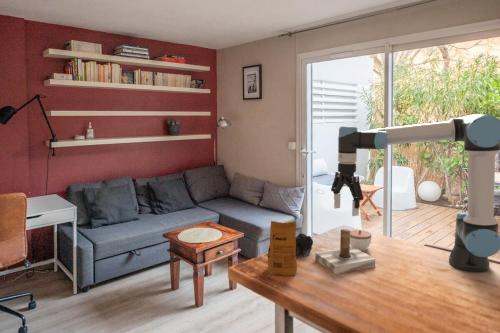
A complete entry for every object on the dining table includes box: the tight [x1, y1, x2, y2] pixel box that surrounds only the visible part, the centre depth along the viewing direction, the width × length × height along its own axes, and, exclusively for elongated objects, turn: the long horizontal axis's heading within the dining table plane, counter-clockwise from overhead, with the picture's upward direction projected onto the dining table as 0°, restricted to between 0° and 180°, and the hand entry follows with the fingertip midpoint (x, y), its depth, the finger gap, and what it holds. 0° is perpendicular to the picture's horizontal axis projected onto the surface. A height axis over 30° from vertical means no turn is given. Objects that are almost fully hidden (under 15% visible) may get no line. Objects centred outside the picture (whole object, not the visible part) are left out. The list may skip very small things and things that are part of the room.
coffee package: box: [267, 220, 298, 277], centre depth 156 cm, size 10×12×22 cm
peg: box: [339, 228, 351, 258], centre depth 163 cm, size 4×4×15 cm
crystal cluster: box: [296, 233, 314, 258], centre depth 177 cm, size 13×14×10 cm
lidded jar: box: [350, 229, 372, 252], centre depth 181 cm, size 11×11×9 cm
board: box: [314, 246, 376, 275], centre depth 164 cm, size 16×20×4 cm
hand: (345, 211), depth 161 cm, fingers open, 12 cm apart
